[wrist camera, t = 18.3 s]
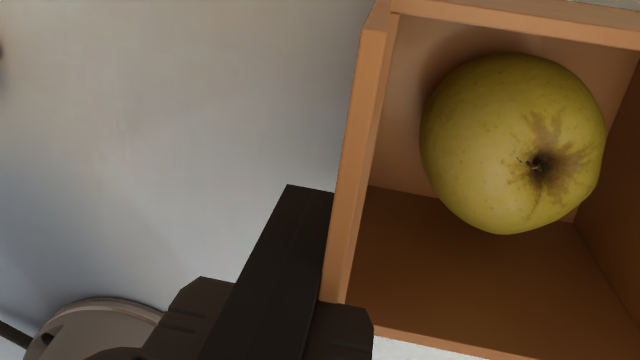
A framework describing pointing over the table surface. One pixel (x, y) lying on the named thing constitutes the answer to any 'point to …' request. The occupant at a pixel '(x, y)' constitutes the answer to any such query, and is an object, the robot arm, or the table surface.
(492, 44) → the carton
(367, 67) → the flap
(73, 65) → the table surface
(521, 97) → the apple
